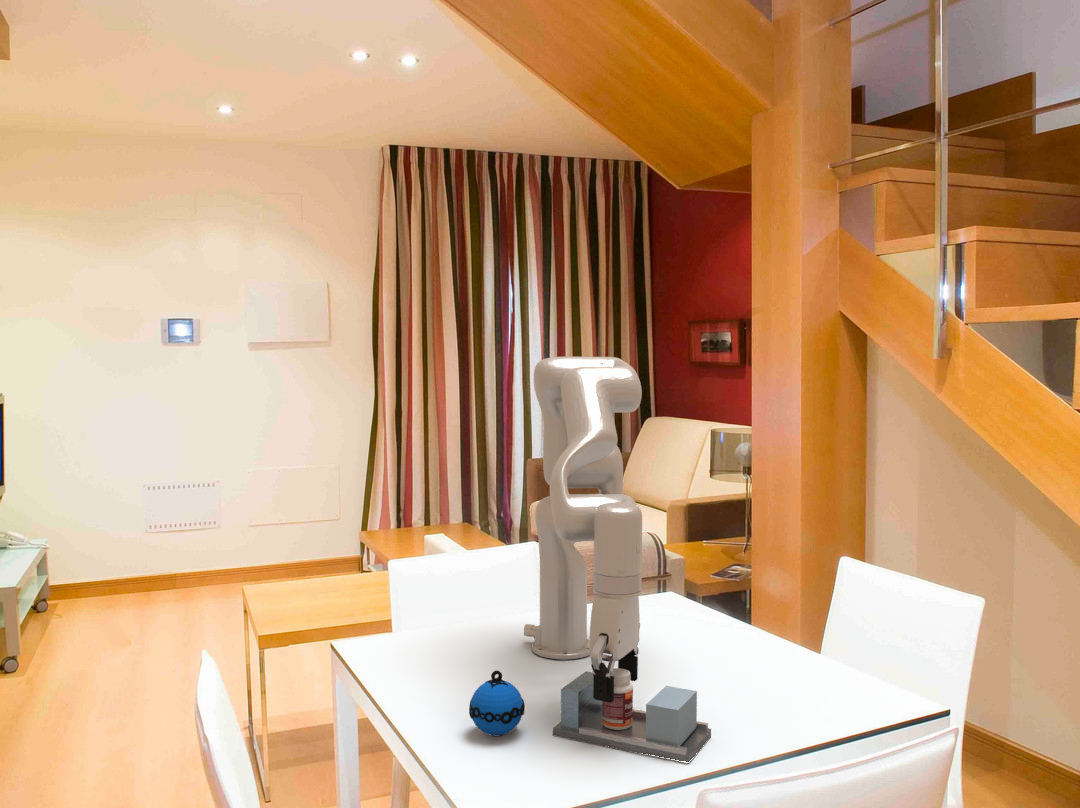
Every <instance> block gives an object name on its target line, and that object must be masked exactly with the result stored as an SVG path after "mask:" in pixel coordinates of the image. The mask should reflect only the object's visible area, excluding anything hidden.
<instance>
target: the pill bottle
mask: <svg viewBox="0 0 1080 808" xmlns="http://www.w3.org/2000/svg"><path fill="white" fill-rule="evenodd" d="M612 676H614V701H613V702H611V703H609V702H605V701H602V723H603V725H604V726H605V727H606V728H609V729H614V730H624V729H628V728H630V727H631V726H632V718H633V709H634V705H633V700H634V699H633V696H634V694H633V693H634V691H633V690H634V687H633V684H632V683H631V681H630V680H631V674H630V671H628V670H625V669H620V668H618V667H617V668H616V667H614V668H613V672H612Z"/></svg>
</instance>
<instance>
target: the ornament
mask: <svg viewBox="0 0 1080 808" xmlns="http://www.w3.org/2000/svg"><path fill="white" fill-rule="evenodd" d="M490 675H491V676H490V677H491V679H489V680H487V681H485V682H484V683H482V684H481V685H479V686H478V687H477V688H476V689H475V691H474V692H473V695H472V696H471V698H470V701H469V707H468V714H469V718H470V719H472V721H473V724H474V725H475V726H476V728H478V730H479V731H481V732H482V733H484V734H485V735H488V736H494V737H498V736H499V737H501V736H503V735H504V736H505V735H506V734H508V733H510V732H511V731H513V730H514V729H515V728H516V727H517V726H518V725H519V723H520V721H521V720H522V716H524V714H525V707H526V705H525V701H524V698H522V695H521V693H520V691H519V690H518V689H517V687H515V686H514V684H512V683H510V682H509V681H507V680H504V679H503V674H502V672H501V671H499V670H494V671H492V672H491V674H490ZM496 675H498V676H497V677H496Z"/></svg>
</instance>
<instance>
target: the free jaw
mask: <svg viewBox="0 0 1080 808" xmlns="http://www.w3.org/2000/svg"><path fill="white" fill-rule="evenodd" d="M697 693H698V692H697V690H693V689H687V688H681V687H675V686H672V685H671V686H670V685H665V686H664V687H663V688H662V689H661V690H660V691H658V693H657V694H655V695H654V696H653V697H652V698H651V699H650V700H649V701H648V702H647V703H646V704H645V709H646V710H645V712H646V740H651V741H656V742H661V743H666V744H671V745H676V746H681V744H682V743H683V742H684V741H685V740H686V739H687V738H688V736H689V735H690V734H691V733H692V732H693V731H694V730H695V728H696V727H697V720H698V719H697V716H698V715H697V714H698V713H697V712H698V711H697V710H698V709H697V706H698V701H697V699H698V695H697Z"/></svg>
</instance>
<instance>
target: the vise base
mask: <svg viewBox="0 0 1080 808" xmlns="http://www.w3.org/2000/svg"><path fill="white" fill-rule="evenodd" d="M552 736H554V737H560V738H564V739H568V740H573V741H578V742H583V743H588V744H592V745H595V746H596V745H597V746H600V747H601V746H602V747H605V746H607V747H606V748H610V747H614V748H613V749H615V748H617V749H616V750H619V749H621V750H620V751H624V750H626V751H625V752H629V751H632V752H631V753H634V752H637V753H636V754H638V753H643V754H648V755H649V754H650V755H655V756H659V757H664V758H670V759H675V760H679V761H686V762H689V761H690V760H691V759H692V758H693V757H694V756H695V755H696V753H697V752H698V751H699V750H700V749H701V750H702V749H703V747H704V746H705V745H706V743H707V742H708V741H709V740H710V739H711V737H712V728H709V723H708V722H703V721H697V727H696V728H695V730H694V731H693V732H692V733H691V734H690V735H689V736H688V738H687V739H686V740H685V741H684V742H683V743H682V744H681V746H676V745H671V744H666V743H661V742H656V741H651V740H646V710H645V711H643V710H639V709H635V708H633V718H632V726H631V727H630V728H628V729H624V730H614V729H609V728H606V727H605V726H604V725H603V723H602V701H600V700H595V699H594V698H593V674H592V671H588V670H587V671H585V672H583V673H582V674H580V675H579V676H577V677H576V678H574V679H573V680H572V681H570V682H569V683H568V684H566V685H565V686H563V687H562V688H561V689H560V722H558V723H557V724H556V725H554V726H553V727H552ZM708 739H709V740H708ZM707 740H708V741H707ZM706 741H707V742H706ZM704 744H705V745H704ZM703 745H704V746H703ZM608 746H609V747H608ZM702 746H703V747H702ZM701 750H700V751H701ZM700 751H699V752H700ZM699 752H698V753H699ZM698 753H697V754H698ZM643 754H642V755H643ZM648 755H647V756H648ZM696 756H697V755H696ZM696 756H695V757H696ZM695 757H694V758H695ZM694 758H693V759H694ZM693 759H692V760H693Z"/></svg>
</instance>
